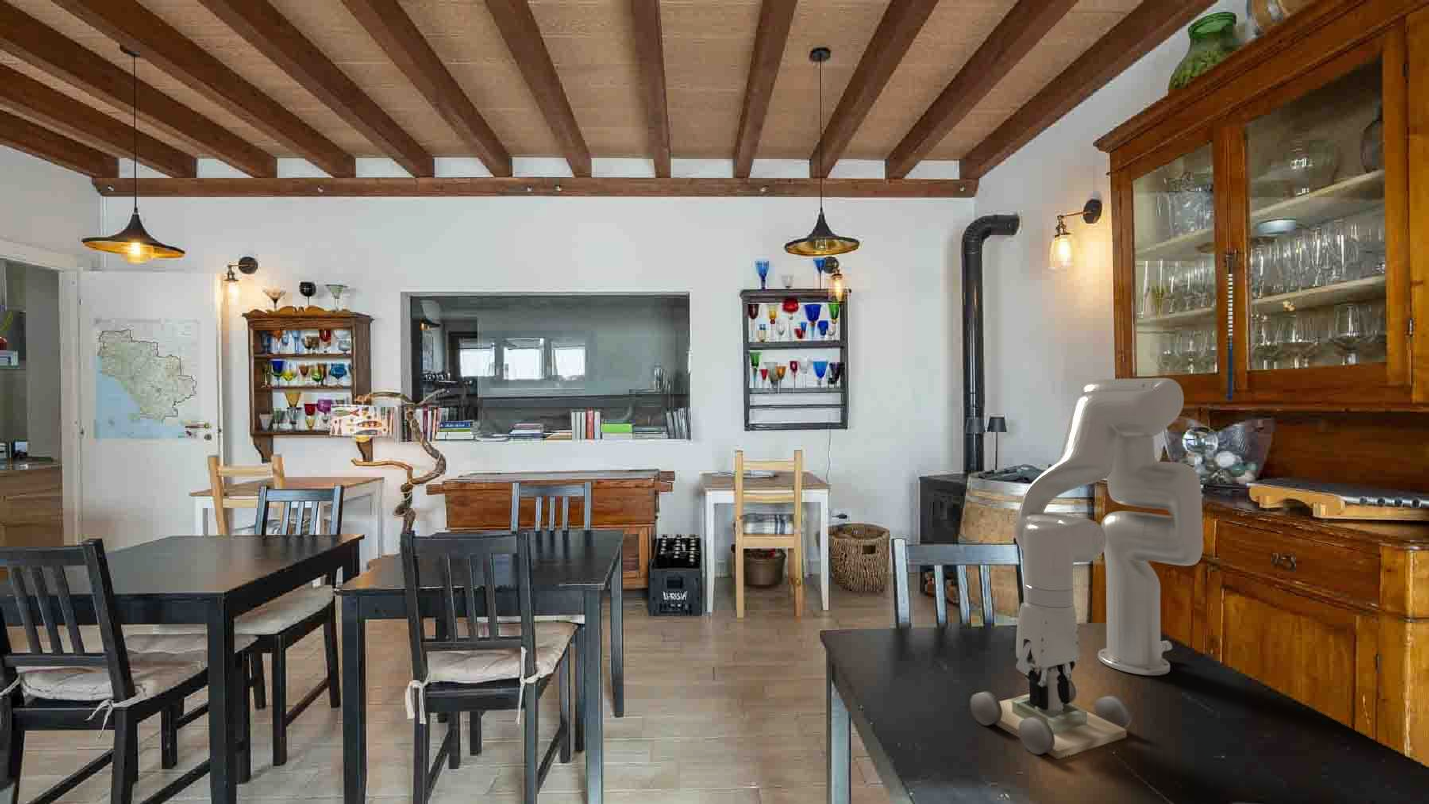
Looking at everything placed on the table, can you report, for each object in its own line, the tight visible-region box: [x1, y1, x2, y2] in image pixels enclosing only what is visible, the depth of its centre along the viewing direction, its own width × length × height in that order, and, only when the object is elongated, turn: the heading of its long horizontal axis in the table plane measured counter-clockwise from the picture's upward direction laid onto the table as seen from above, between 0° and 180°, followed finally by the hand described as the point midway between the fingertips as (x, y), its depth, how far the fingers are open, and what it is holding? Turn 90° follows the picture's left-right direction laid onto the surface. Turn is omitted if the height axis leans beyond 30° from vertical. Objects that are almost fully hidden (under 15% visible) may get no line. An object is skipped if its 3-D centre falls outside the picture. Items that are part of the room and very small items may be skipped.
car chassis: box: [969, 679, 1132, 760], centre depth 111 cm, size 20×16×5 cm
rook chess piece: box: [1035, 666, 1064, 717], centre depth 111 cm, size 4×4×8 cm
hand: (1049, 702), depth 111 cm, fingers closed on rook chess piece, 4 cm apart
